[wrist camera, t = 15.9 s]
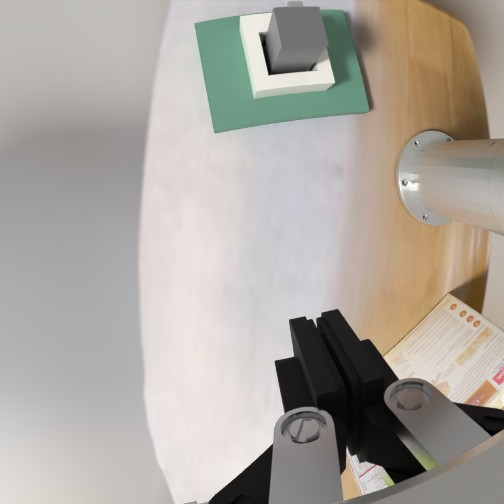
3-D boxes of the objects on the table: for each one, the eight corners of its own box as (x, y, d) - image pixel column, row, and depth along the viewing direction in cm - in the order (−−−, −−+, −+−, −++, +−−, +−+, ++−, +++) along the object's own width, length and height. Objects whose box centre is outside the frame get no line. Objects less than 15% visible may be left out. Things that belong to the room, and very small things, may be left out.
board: (339, 14, 30) (342, 9, 29) (364, 113, 34) (369, 111, 32) (195, 28, 30) (194, 23, 29) (215, 133, 34) (214, 131, 32)
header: (308, 23, 29) (315, 10, 26) (325, 90, 32) (334, 82, 28) (239, 29, 29) (240, 16, 26) (254, 98, 32) (256, 91, 28)
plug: (296, 41, 30) (317, 1, 20) (304, 75, 31) (328, 44, 21) (262, 43, 30) (272, 2, 20) (269, 78, 31) (281, 46, 21)
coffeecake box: (397, 381, 44) (454, 464, 25) (377, 359, 42) (438, 450, 24) (463, 318, 42) (540, 379, 23) (448, 290, 40) (535, 351, 22)
